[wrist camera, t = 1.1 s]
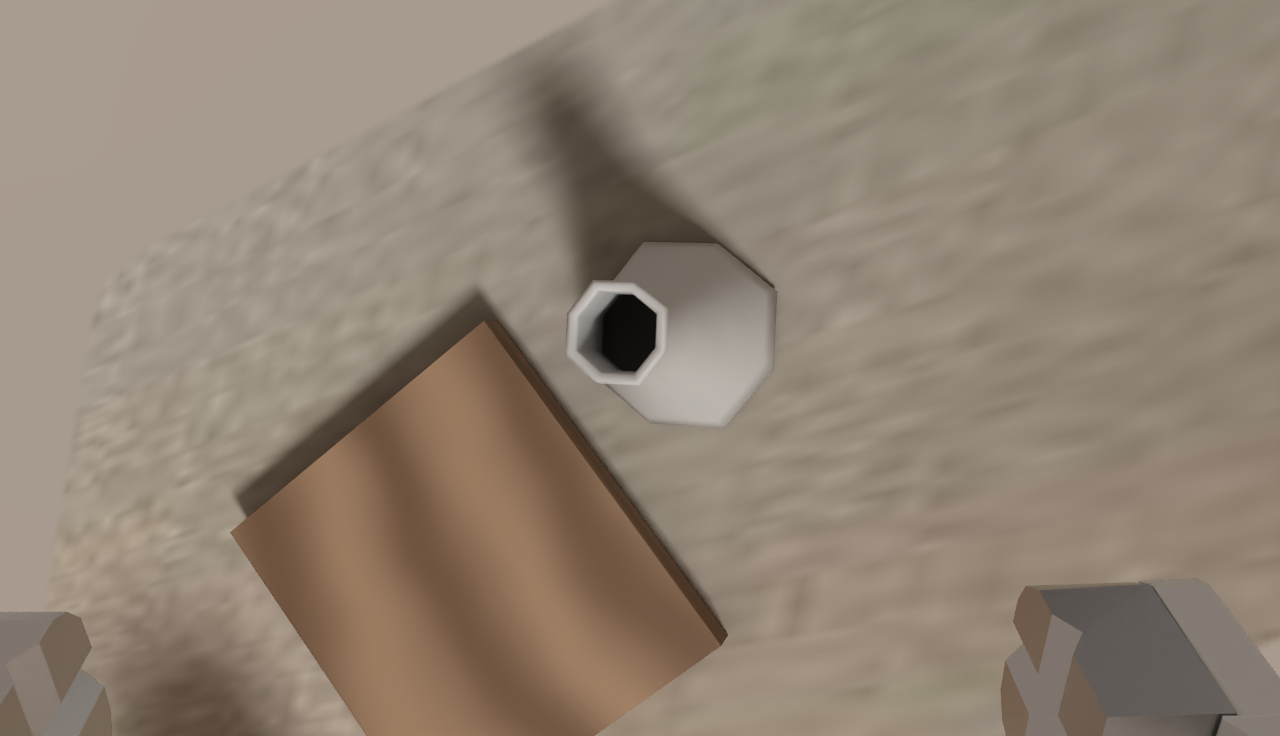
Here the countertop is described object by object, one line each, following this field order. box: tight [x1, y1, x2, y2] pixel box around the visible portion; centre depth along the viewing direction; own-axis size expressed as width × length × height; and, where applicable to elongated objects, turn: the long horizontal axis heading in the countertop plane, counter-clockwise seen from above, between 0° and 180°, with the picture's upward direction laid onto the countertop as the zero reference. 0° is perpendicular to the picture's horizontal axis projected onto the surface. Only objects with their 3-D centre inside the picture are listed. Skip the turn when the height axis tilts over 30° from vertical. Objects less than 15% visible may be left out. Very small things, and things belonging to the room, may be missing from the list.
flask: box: [565, 242, 777, 428], centre depth 38 cm, size 7×7×10 cm
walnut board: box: [230, 321, 728, 736], centre depth 44 cm, size 14×15×2 cm
